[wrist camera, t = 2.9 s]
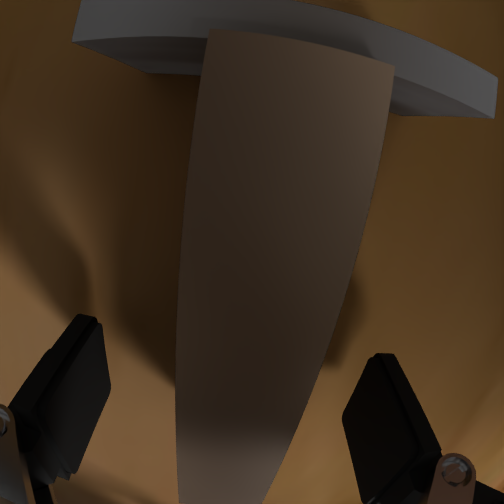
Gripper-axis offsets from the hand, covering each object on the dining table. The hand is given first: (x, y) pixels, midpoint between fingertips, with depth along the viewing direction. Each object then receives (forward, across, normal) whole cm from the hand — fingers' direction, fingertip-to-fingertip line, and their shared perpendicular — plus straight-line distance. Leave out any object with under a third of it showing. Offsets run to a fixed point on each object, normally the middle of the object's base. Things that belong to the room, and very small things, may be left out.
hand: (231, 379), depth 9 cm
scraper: (+1, 0, -3) cm, 3 cm away
